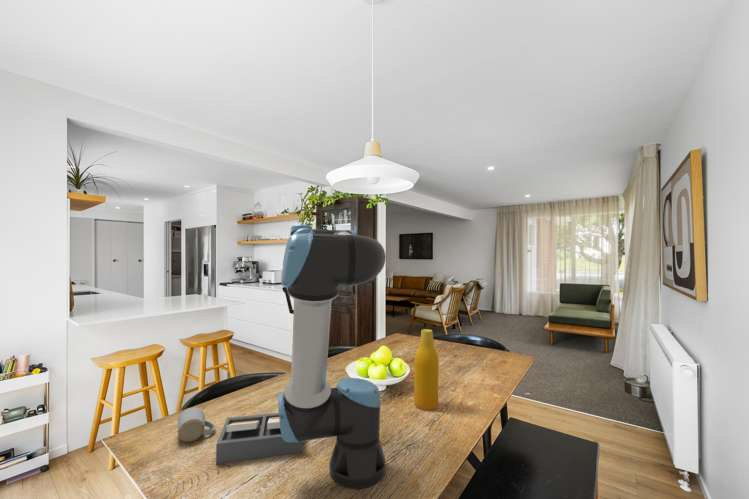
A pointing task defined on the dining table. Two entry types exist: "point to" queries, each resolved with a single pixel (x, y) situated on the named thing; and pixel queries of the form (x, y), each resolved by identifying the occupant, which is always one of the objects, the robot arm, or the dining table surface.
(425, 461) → the dining table surface
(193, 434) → the ceramic mug
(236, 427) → the breaker rocker
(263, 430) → the grey divided tray
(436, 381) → the beer bottle
